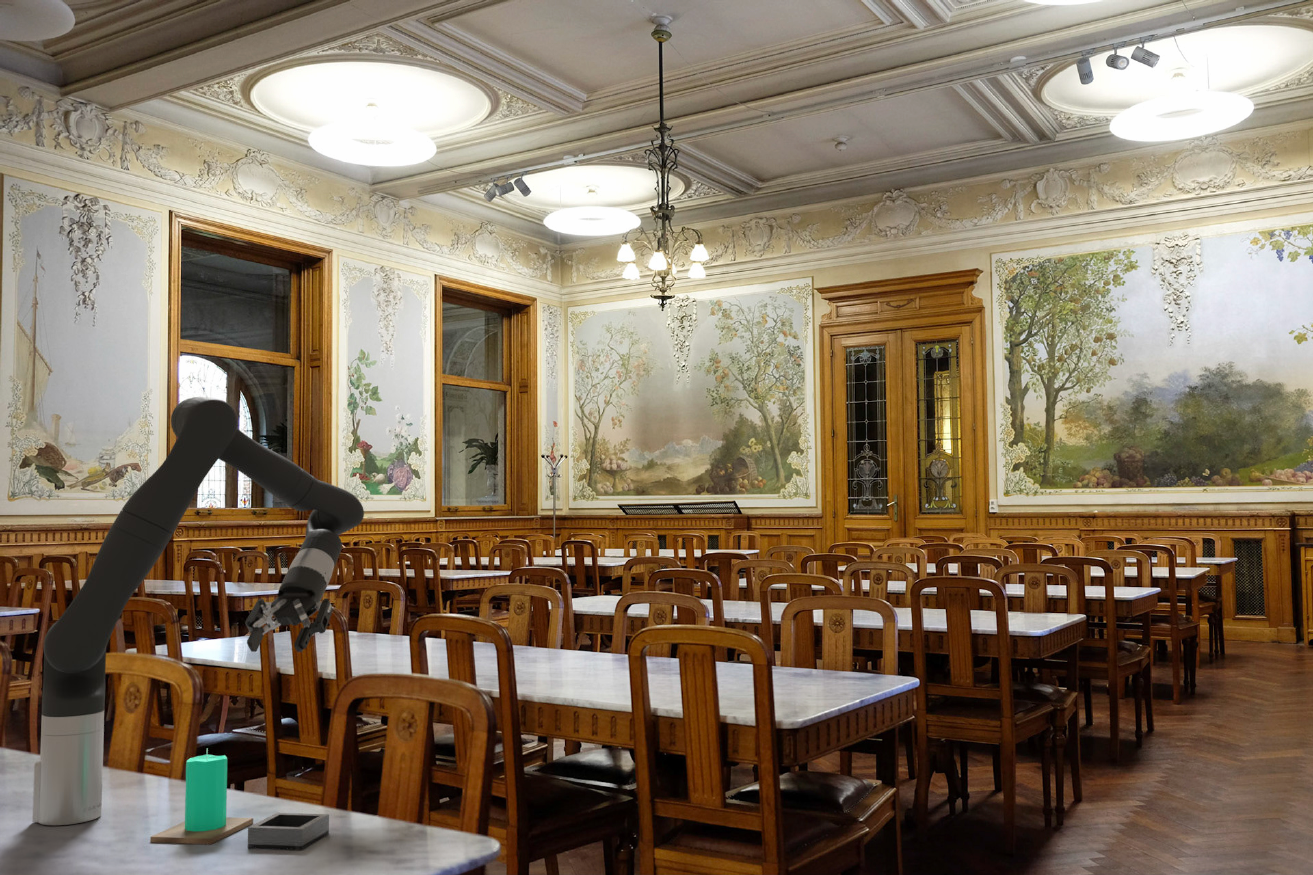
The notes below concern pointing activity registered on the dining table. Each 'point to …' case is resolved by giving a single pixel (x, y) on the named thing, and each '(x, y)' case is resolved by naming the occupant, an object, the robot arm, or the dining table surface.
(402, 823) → the dining table surface
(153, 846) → the dining table surface
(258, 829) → the box
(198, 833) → the walnut board
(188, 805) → the candle
